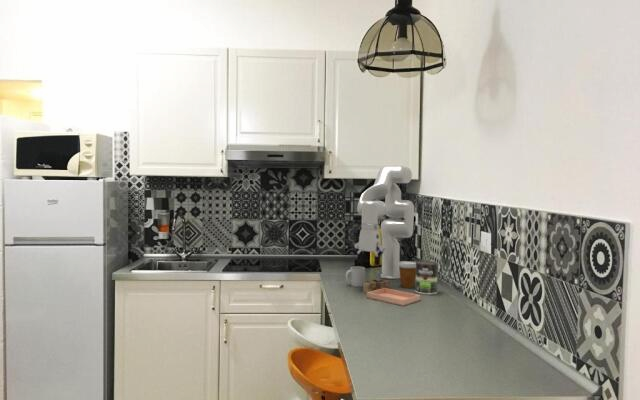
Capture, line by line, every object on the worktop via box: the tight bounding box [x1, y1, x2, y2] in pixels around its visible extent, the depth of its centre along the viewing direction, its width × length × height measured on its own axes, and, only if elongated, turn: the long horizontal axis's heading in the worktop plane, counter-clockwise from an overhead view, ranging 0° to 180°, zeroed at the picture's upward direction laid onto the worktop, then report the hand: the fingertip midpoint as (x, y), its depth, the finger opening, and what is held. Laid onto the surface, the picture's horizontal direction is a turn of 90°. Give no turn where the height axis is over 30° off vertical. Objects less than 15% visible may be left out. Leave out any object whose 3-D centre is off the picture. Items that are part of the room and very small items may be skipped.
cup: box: [345, 265, 366, 288], centre depth 234 cm, size 7×10×9 cm
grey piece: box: [375, 271, 382, 282], centre depth 227 cm, size 4×4×8 cm
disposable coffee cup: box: [398, 260, 417, 289], centre depth 233 cm, size 10×10×12 cm
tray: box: [366, 288, 421, 307], centre depth 207 cm, size 13×19×2 cm
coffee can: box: [414, 260, 439, 296], centre depth 221 cm, size 10×10×14 cm
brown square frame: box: [362, 278, 391, 293], centre depth 225 cm, size 14×8×4 cm, turn 137°
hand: (368, 263), depth 221 cm, fingers open, 9 cm apart
